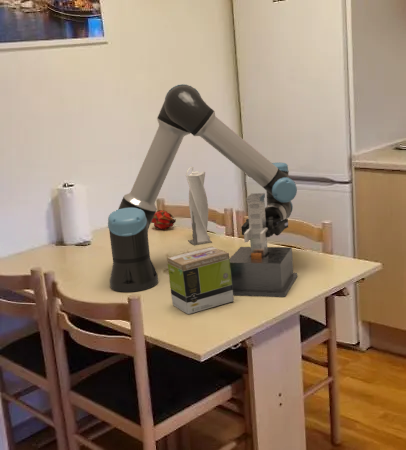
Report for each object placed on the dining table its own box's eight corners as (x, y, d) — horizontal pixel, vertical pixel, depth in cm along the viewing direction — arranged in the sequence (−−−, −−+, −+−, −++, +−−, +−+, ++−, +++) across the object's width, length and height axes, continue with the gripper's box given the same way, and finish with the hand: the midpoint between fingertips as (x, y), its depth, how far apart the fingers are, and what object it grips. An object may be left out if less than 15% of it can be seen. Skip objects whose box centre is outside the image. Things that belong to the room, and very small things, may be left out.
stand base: (284, 297, 198) (282, 259, 195) (224, 295, 204) (221, 258, 201) (297, 276, 214) (295, 241, 212) (240, 275, 220) (238, 240, 218)
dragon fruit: (155, 229, 293) (174, 237, 285) (142, 222, 287) (161, 230, 278) (165, 211, 294) (183, 219, 285) (152, 203, 288) (170, 211, 279)
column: (265, 281, 205) (259, 197, 199) (251, 281, 206) (246, 198, 200) (270, 275, 211) (264, 193, 204) (257, 274, 212) (251, 193, 206)
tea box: (216, 293, 206) (212, 245, 202) (234, 302, 197) (230, 252, 194) (171, 305, 199) (166, 255, 196) (187, 315, 191) (182, 263, 187)
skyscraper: (187, 240, 266) (180, 167, 259) (207, 237, 268) (200, 165, 262) (194, 245, 258) (187, 170, 251) (214, 241, 261) (208, 167, 254)
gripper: (299, 229, 220) (283, 250, 198) (246, 229, 225) (225, 250, 204) (298, 206, 218) (282, 225, 196) (245, 206, 223) (223, 225, 202)
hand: (253, 237), depth 200 cm, fingers closed on column, 4 cm apart
